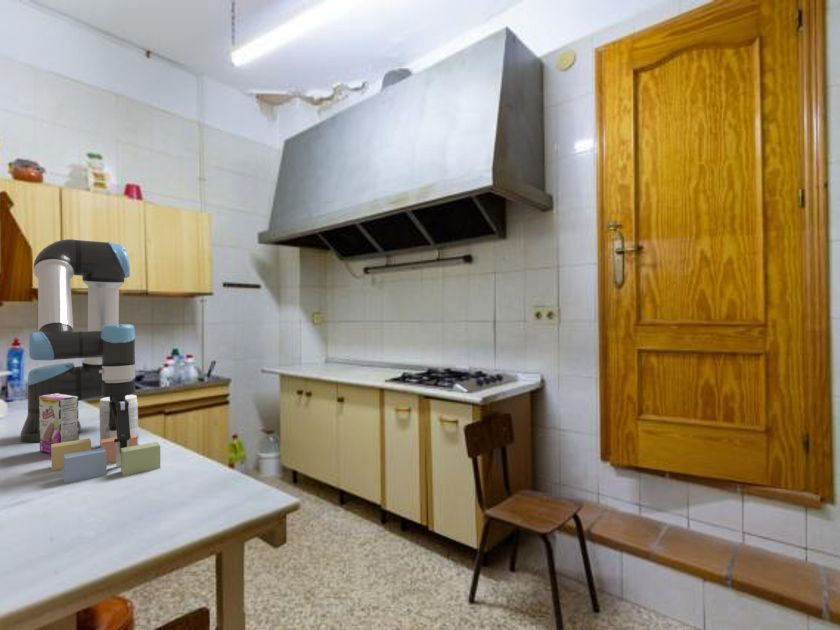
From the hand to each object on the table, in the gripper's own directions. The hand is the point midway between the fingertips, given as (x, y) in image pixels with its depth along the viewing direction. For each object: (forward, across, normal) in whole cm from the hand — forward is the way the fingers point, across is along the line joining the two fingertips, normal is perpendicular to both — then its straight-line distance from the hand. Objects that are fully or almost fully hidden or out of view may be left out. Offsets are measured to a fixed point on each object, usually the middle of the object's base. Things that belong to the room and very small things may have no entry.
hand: (119, 459), depth 119 cm
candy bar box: (0, -20, -12) cm, 23 cm away
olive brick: (0, +13, +3) cm, 13 cm away
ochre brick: (0, -4, -10) cm, 11 cm away
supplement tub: (0, -16, +2) cm, 16 cm away
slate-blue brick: (0, +10, -8) cm, 12 cm away
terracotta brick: (0, 0, 0) cm, 0 cm away
